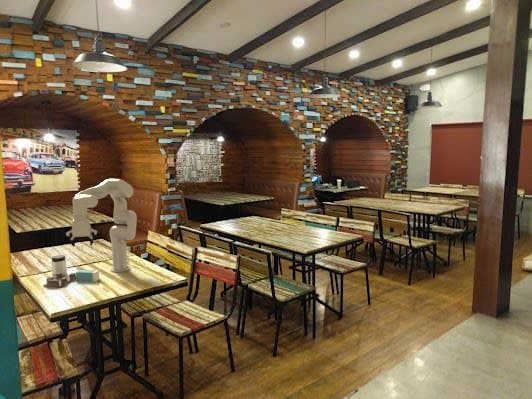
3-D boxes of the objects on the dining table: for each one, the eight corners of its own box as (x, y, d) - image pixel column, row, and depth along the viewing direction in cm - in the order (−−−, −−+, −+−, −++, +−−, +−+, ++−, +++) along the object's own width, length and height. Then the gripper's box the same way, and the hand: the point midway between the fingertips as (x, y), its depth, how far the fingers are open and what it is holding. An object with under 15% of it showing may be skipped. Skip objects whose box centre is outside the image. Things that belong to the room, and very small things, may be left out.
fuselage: (76, 281, 259) (75, 272, 258) (80, 278, 264) (80, 269, 263) (95, 281, 257) (94, 272, 256) (99, 279, 262) (98, 270, 261)
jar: (58, 271, 279) (56, 254, 277) (69, 271, 278) (67, 254, 277) (50, 275, 270) (48, 258, 268) (61, 275, 269) (60, 258, 268)
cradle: (62, 276, 267) (61, 270, 266) (78, 277, 266) (78, 271, 265) (43, 286, 248) (42, 280, 248) (61, 287, 247) (61, 280, 246)
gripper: (97, 215, 242) (98, 243, 245) (66, 217, 238) (68, 245, 240) (95, 218, 235) (97, 246, 237) (63, 219, 230) (65, 248, 233)
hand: (82, 245), depth 239 cm, fingers open, 9 cm apart
